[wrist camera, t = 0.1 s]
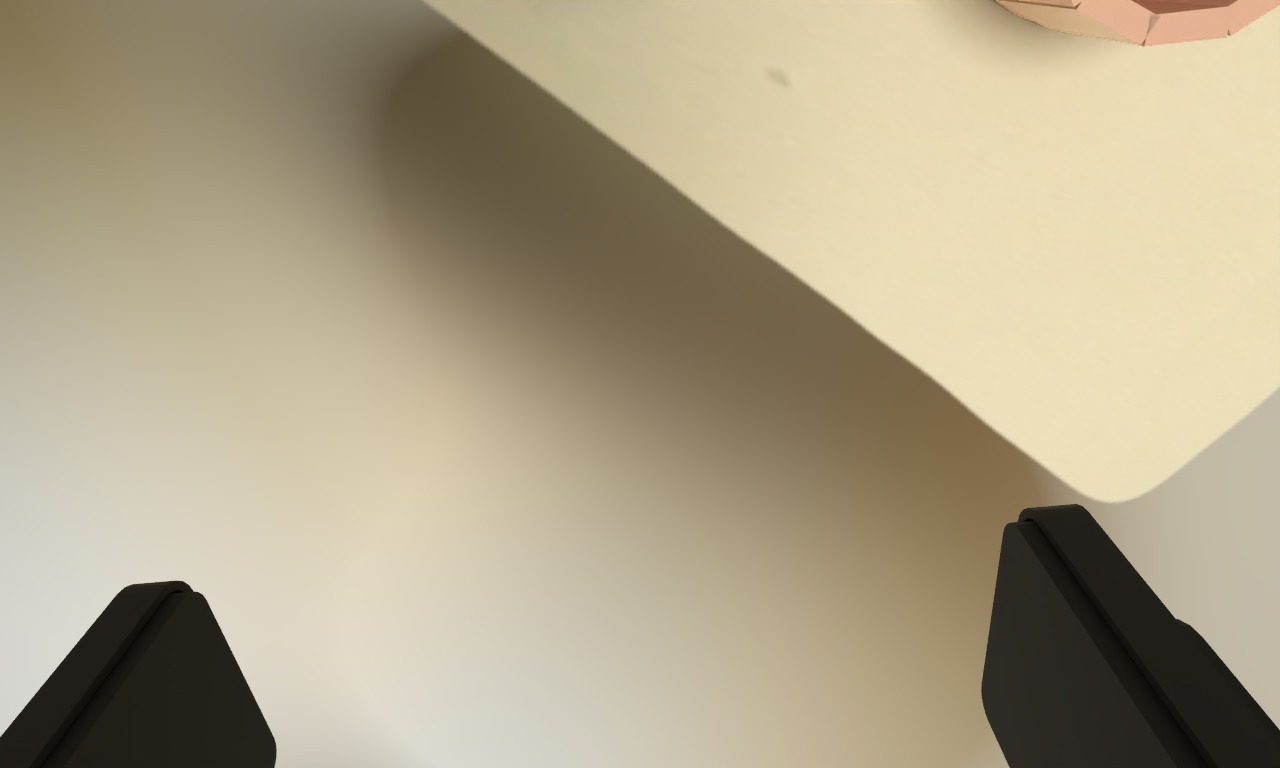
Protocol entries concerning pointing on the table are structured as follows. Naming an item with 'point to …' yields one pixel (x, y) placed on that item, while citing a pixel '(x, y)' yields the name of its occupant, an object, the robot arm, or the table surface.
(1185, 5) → the bowl
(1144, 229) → the table surface
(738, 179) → the table surface
